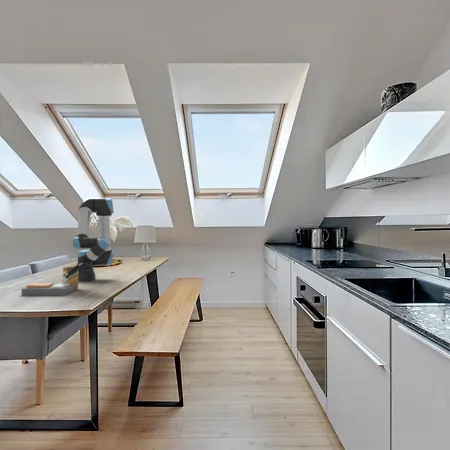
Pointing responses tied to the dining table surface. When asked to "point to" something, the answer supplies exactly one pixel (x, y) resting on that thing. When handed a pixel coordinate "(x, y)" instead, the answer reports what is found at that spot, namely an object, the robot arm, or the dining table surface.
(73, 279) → the candy box
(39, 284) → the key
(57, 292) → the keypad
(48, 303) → the dining table surface
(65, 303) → the dining table surface
